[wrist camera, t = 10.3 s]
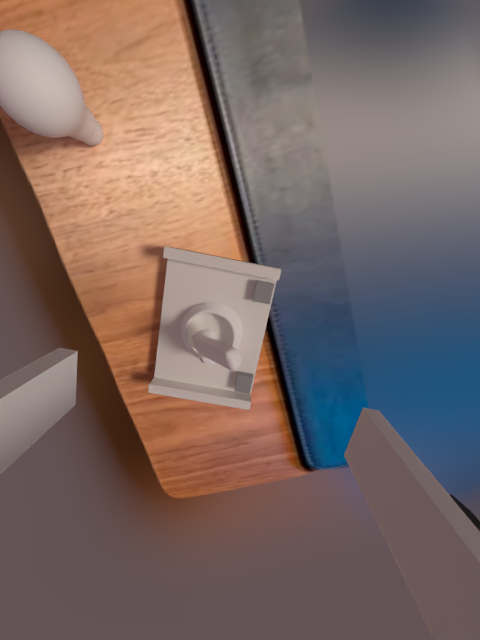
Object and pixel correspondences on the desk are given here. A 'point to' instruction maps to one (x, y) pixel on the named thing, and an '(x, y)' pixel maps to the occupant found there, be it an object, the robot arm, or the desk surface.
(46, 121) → the lightbulb
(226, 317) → the hook
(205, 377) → the panel
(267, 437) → the desk surface
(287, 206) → the desk surface
